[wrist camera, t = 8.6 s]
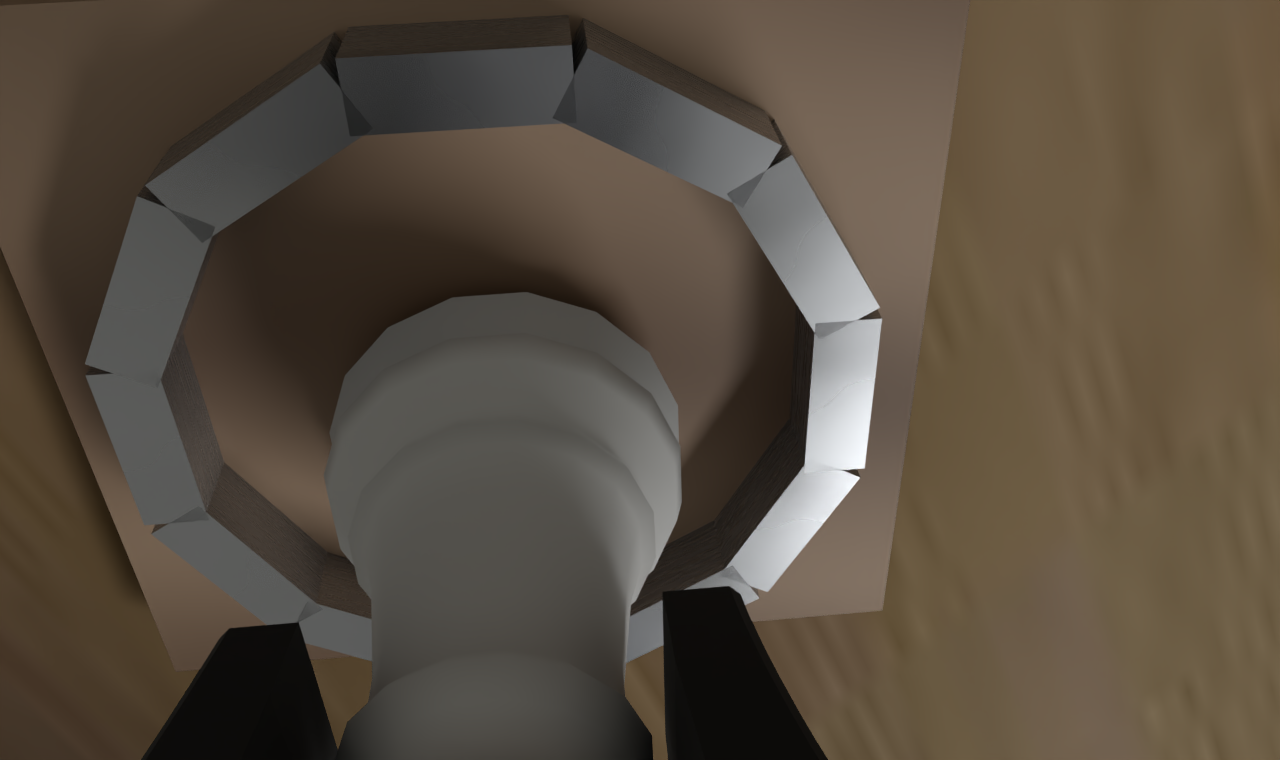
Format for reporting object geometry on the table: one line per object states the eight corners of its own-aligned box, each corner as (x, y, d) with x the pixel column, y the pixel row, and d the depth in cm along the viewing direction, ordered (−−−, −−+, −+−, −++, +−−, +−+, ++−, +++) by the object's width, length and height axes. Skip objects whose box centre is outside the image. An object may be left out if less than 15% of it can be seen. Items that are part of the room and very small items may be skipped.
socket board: (866, 565, 18) (899, 659, 16) (192, 622, 18) (158, 725, 16) (947, -69, 12) (1011, -20, 11) (-55, -17, 12) (-149, 42, 10)
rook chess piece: (261, 405, 14) (-3, 1067, 7) (535, 202, 13) (536, 755, 6) (489, 605, 16) (454, 1266, 9) (742, 446, 15) (916, 1062, 8)
